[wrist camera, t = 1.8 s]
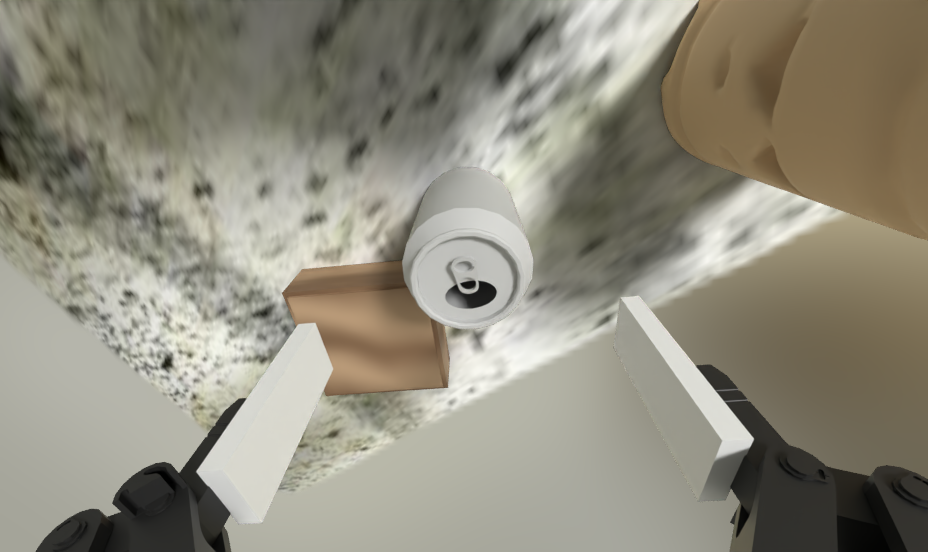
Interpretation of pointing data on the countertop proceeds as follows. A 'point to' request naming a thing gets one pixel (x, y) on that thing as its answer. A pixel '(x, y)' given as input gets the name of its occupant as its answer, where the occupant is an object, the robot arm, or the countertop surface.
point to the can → (467, 251)
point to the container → (811, 100)
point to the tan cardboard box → (370, 328)
